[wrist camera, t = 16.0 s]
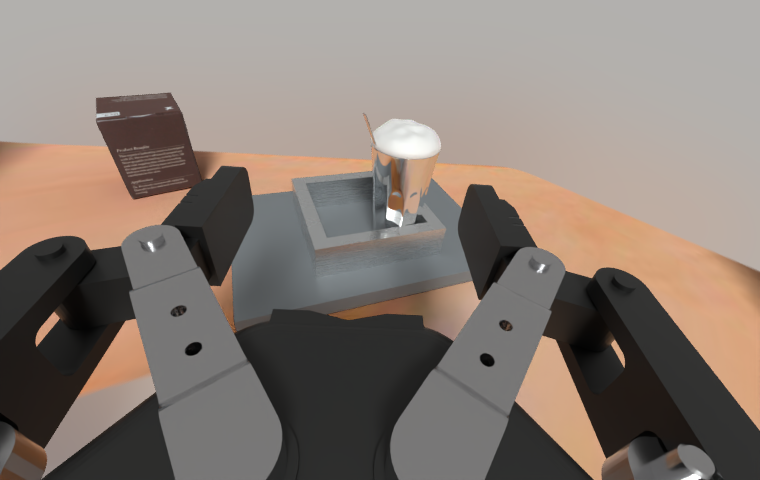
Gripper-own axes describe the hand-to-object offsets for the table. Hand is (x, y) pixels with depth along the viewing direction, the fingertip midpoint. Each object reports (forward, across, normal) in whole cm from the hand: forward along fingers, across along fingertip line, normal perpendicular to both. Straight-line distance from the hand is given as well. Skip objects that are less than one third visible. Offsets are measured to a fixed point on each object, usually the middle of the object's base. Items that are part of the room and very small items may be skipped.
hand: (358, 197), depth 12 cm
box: (+19, +20, +12) cm, 30 cm away
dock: (+11, 0, +11) cm, 16 cm away
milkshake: (+10, -2, +10) cm, 14 cm away
